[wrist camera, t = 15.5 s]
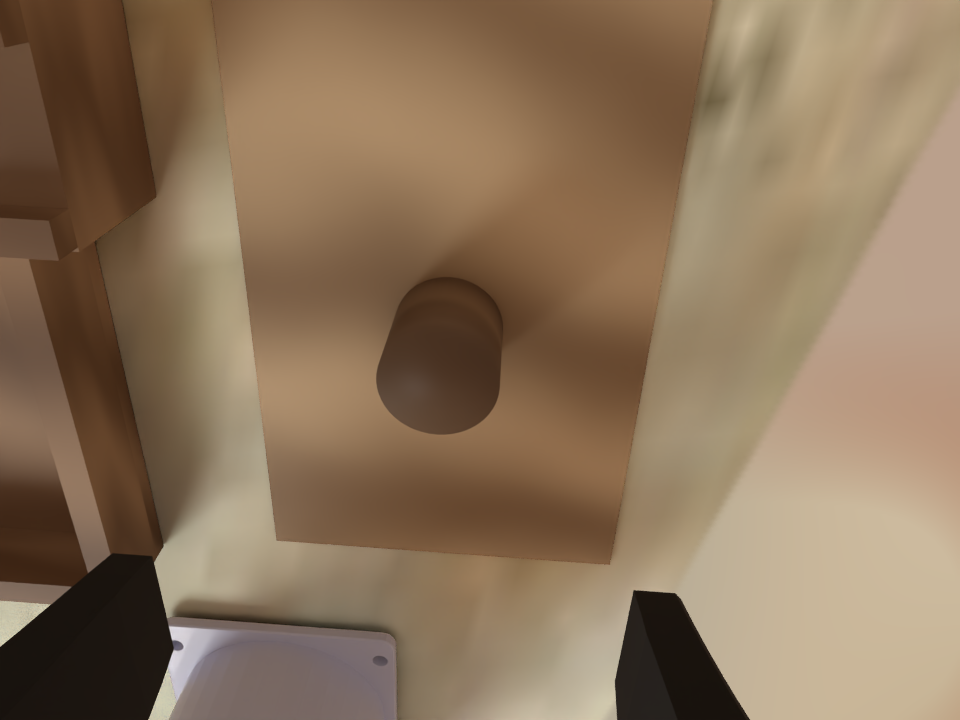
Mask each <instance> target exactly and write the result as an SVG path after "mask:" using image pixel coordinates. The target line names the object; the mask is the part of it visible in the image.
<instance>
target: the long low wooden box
mask: <svg viewBox="0 0 960 720" xmlns="http://www.w3.org/2000/svg"><path fill="white" fill-rule="evenodd" d="M154 198H156V191H155V186H154V180H153V175H152V169H151V163H150V158H149V152H148V146H147V141H146V135H145V129H144V124H143V118H142V112H141V107H140V101H139V96H138V90H137V84H136V79H135V73H134V67H133V62H132V56H131V50H130V45H129V39H128V33H127V28H126V22H125V17H124V11H123V5H122V0H0V601H14V602H27V603H40V604H52V603H53V602H55V601H56V600H57V599H58V598H59V597H61V596H62V595H63V594H64V593H65V592H66V591H68V590H69V589H70V588H71V587H72V586H74V585H75V584H76V583H77V582H78V581H79V580H81V579H82V578H83V577H84V576H85V575H87V574H88V573H89V572H90V571H91V570H93V569H94V568H95V567H96V566H97V565H99V564H100V563H101V562H102V561H103V560H105V559H106V558H107V557H108V556H110V555H111V554H112V553H118V554H132V555H146V556H152V557H153V561H155V560H156V558H157V556H158V555H159V553H160V551H161V549H162V548H163V541H162V537H161V533H160V528H159V524H158V519H157V515H156V511H155V506H154V502H153V497H152V493H151V488H150V484H149V480H148V475H147V471H146V466H145V462H144V458H143V453H142V449H141V444H140V440H139V436H138V431H137V427H136V422H135V418H134V414H133V409H132V405H131V400H130V396H129V392H128V387H127V383H126V378H125V374H124V369H123V365H122V361H121V356H120V352H119V347H118V343H117V339H116V334H115V330H114V325H113V321H112V317H111V312H110V308H109V303H108V299H107V295H106V290H105V286H104V281H103V277H102V272H101V268H100V264H99V259H98V255H97V250H96V246H95V242H94V241H95V240H97V239H98V238H100V237H101V236H103V235H104V234H105V233H107V232H108V231H110V230H111V229H112V228H114V227H115V226H117V225H118V224H119V223H121V222H122V221H124V220H125V219H126V218H128V217H129V216H131V215H132V214H133V213H135V212H136V211H138V210H139V209H140V208H142V207H143V206H145V205H146V204H147V203H149V202H150V201H152V200H153V199H154Z"/></svg>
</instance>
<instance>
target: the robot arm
mask: <svg viewBox="0 0 960 720" xmlns="http://www.w3.org/2000/svg"><path fill="white" fill-rule="evenodd" d="M167 667H168V669H169V673H170V677H171V681H172V685H173V689H174V693H175V697H176V701H177V702H176V705H175V707H174V709H173V711H172V713H171V716H170V718H169V720H398V716H397V659H396V641H395V639H394V638H393V637H392V636H391V635H389V634H387V633H383V632H372V631H359V630H346V629H332V628H319V627H305V626H292V625H279V624H265V623H252V622H238V621H225V620H212V619H198V618H185V617H170V618H167V617H166V612H165V608H164V604H163V600H162V595H161V591H160V587H159V583H158V578H157V574H156V570H155V566H154V561H153V557H152V556H146V555H132V554H118V553H112V554H111V555H110V556H108V557H107V558H106V559H105V560H103V561H102V562H101V563H100V564H99V565H97V566H96V567H95V568H94V569H93V570H91V571H90V572H89V573H88V574H87V575H85V576H84V577H83V578H82V579H81V580H79V581H78V582H77V583H76V584H75V585H74V586H72V587H71V588H70V589H69V590H68V591H66V592H65V593H64V594H63V595H62V596H61V597H59V598H58V599H57V600H56V601H55V602H53V603H52V604H51V605H50V606H49V607H48V608H46V609H45V610H44V611H43V612H42V613H40V614H39V615H38V616H37V617H36V618H35V619H33V620H32V621H31V622H30V623H29V624H27V625H26V626H25V627H24V628H23V629H21V630H20V631H19V632H18V633H17V634H15V635H14V636H13V637H12V638H11V639H9V640H8V641H7V642H6V643H4V644H3V645H2V646H1V647H0V720H148V719H149V717H150V714H151V711H152V709H153V706H154V703H155V701H156V698H157V695H158V693H159V690H160V687H161V685H162V682H163V679H164V676H165V673H166V670H167ZM615 690H616V707H617V720H750V719H749V718H748V716H747V715H746V713H745V711H744V710H743V708H742V707H741V705H740V703H739V702H738V700H737V699H736V697H735V695H734V694H733V692H732V690H731V689H730V687H729V685H728V684H727V682H726V680H725V679H724V677H723V675H722V674H721V672H720V670H719V669H718V667H717V665H716V663H715V662H714V660H713V658H712V657H711V655H710V653H709V651H708V649H707V647H706V646H705V644H704V642H703V641H702V638H701V637H700V635H699V633H698V631H697V629H696V627H695V626H694V624H693V622H692V620H691V618H690V616H689V614H688V612H687V610H686V608H685V606H684V604H683V602H682V601H681V599H680V598H679V597H678V596H677V595H676V594H675V593H663V592H649V591H635V590H634V591H633V596H632V601H631V606H630V611H629V616H628V621H627V625H626V630H625V635H624V640H623V645H622V650H621V655H620V659H619V664H618V669H617V674H616V679H615Z"/></svg>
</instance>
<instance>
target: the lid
mask: <svg viewBox="0 0 960 720" xmlns="http://www.w3.org/2000/svg"><path fill="white" fill-rule="evenodd" d="M211 1H212V9H213V17H214V26H215V34H216V42H217V51H218V59H219V67H220V75H221V84H222V92H223V100H224V108H225V117H226V125H227V133H228V142H229V150H230V158H231V166H232V175H233V183H234V191H235V200H236V208H237V216H238V224H239V233H240V241H241V249H242V257H243V266H244V274H245V282H246V291H247V299H248V307H249V315H250V324H251V332H252V340H253V349H254V357H255V365H256V373H257V382H258V390H259V398H260V406H261V415H262V423H263V431H264V440H265V448H266V456H267V464H268V473H269V481H270V489H271V498H272V506H273V514H274V522H275V531H276V539H277V541H291V542H305V543H319V544H333V545H346V546H360V547H374V548H388V549H402V550H415V551H429V552H443V553H457V554H471V555H484V556H498V557H512V558H526V559H540V560H553V561H567V562H581V563H595V564H609V565H610V560H611V555H612V549H613V544H614V539H615V533H616V528H617V522H618V517H619V511H620V506H621V500H622V495H623V489H624V484H625V478H626V473H627V468H628V462H629V457H630V451H631V446H632V440H633V435H634V429H635V424H636V418H637V413H638V407H639V402H640V396H641V391H642V386H643V380H644V375H645V369H646V364H647V358H648V353H649V347H650V342H651V336H652V331H653V325H654V320H655V315H656V309H657V304H658V298H659V293H660V287H661V282H662V276H663V271H664V265H665V260H666V254H667V249H668V244H669V238H670V233H671V227H672V222H673V216H674V211H675V205H676V200H677V194H678V189H679V183H680V178H681V173H682V167H683V162H684V156H685V151H686V145H687V140H688V134H689V129H690V123H691V118H692V112H693V107H694V102H695V96H696V91H697V85H698V80H699V74H700V69H701V63H702V58H703V52H704V47H705V41H706V36H707V31H708V25H709V20H710V14H711V9H712V3H713V0H211Z"/></svg>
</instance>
